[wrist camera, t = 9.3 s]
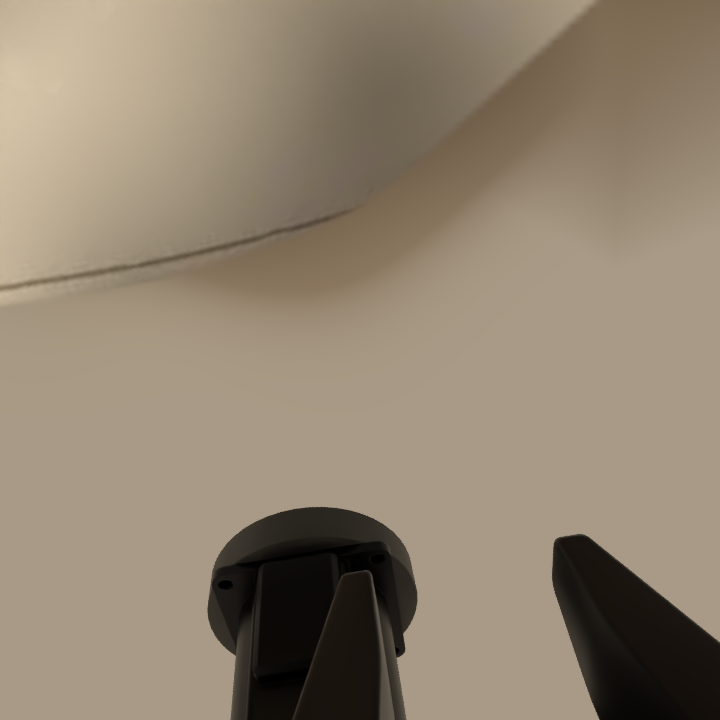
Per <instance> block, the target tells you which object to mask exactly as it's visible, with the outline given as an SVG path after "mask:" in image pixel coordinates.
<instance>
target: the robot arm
mask: <svg viewBox="0 0 720 720" xmlns="http://www.w3.org/2000/svg"><path fill="white" fill-rule="evenodd" d="M376 554H379V555H376ZM552 581H553V587H554V591H555V594H556V597H557V600H558V603H559V606H560V609H561V612H562V615H563V618H564V621H565V624H566V627H567V630H568V633H569V636H570V639H571V642H572V645H573V648H574V651H575V654H576V657H577V660H578V663H579V666H580V668H581V672H582V675H583V678H584V680H585V683H586V686H587V689H588V692H589V694H590V697H591V700H592V703H593V705H594V708H595V710H596V712H597V715H598V717H599V719H600V720H720V642H719V641H717V640H716V639H715V638H713V637H712V636H711V635H710V634H709V633H707V632H706V631H705V630H704V629H702V628H701V627H700V626H699V625H697V624H696V623H695V622H694V621H693V620H691V619H690V618H689V617H688V616H686V615H685V614H684V613H683V612H681V611H680V610H679V609H678V608H676V607H675V606H674V605H673V604H671V603H670V602H669V601H668V600H666V599H665V598H664V597H662V596H661V595H660V594H659V593H658V592H656V591H655V590H654V589H653V588H651V587H650V586H649V585H648V584H647V583H645V582H644V581H643V580H642V579H640V578H639V577H638V576H636V575H635V574H634V573H633V572H632V571H630V570H629V569H628V568H627V567H625V566H624V565H623V564H622V563H620V562H619V561H618V560H617V559H615V558H614V557H613V556H612V555H610V554H609V553H608V552H607V551H605V550H604V549H603V548H602V547H600V546H599V545H598V544H597V543H596V542H594V541H593V540H592V539H590V538H589V537H588V536H586V535H583V534H576V535H570V536H564V537H559V538H557V539H556V540H555V542H554V547H553V568H552ZM212 589H213V591H214V594H215V596H216V599H217V601H218V604H219V607H220V609H221V612H222V614H223V617H224V619H225V622H226V624H227V627H228V629H229V632H230V635H231V637H232V640H233V642H234V645H235V647H236V663H235V674H234V686H233V698H232V711H231V720H406V715H405V708H404V702H403V696H402V690H401V683H400V677H399V671H398V665H397V659H396V658H397V657H400V656H401V655H403V653H404V652H405V644H404V637H403V631H402V624H401V618H400V611H399V605H398V598H397V592H396V585H395V579H394V572H393V566H392V559H391V553H390V548H389V546H388V544H386V543H385V542H382V541H371V542H365V543H359V544H353V545H348V546H342V547H336V548H330V549H324V550H318V551H312V552H306V553H300V554H294V555H288V556H282V557H277V558H271V559H265V560H259V561H253V562H247V563H241V564H235V565H229V566H223V567H220V568H218V569H216V570H215V571H214V573H213V577H212Z"/></svg>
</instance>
